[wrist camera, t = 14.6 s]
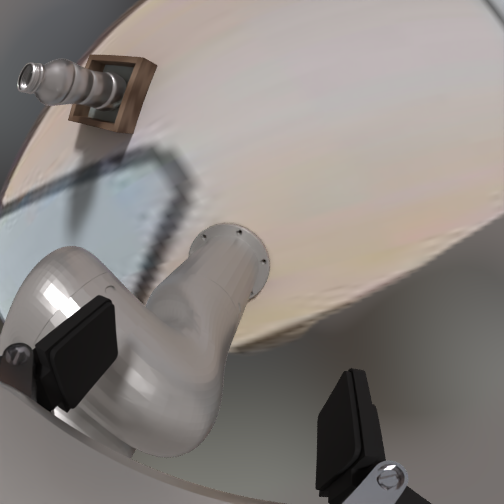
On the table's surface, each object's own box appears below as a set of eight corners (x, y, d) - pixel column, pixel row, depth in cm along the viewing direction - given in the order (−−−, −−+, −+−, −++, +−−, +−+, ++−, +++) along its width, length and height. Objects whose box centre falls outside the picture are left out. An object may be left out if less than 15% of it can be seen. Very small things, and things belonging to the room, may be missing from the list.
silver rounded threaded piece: (129, 69, 35) (42, 40, 17) (134, 104, 37) (41, 86, 19) (100, 85, 37) (12, 69, 18) (104, 119, 39) (11, 113, 20)
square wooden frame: (133, 133, 39) (117, 132, 35) (84, 121, 40) (68, 120, 36) (157, 65, 35) (143, 57, 31) (105, 60, 36) (90, 54, 31)
